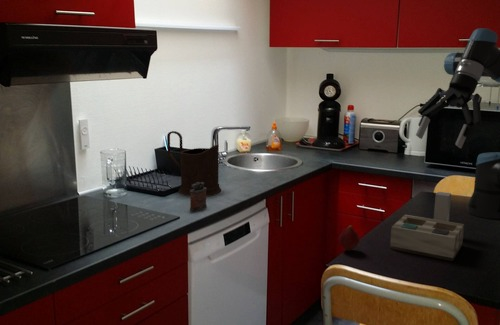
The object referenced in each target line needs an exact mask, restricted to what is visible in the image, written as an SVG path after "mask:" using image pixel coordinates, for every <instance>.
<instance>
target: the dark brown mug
mask: <svg viewBox="0 0 500 325" xmlns="http://www.w3.org/2000/svg"><path fill="white" fill-rule="evenodd" d="M171 134H175V135H177V136H178V138H179V149H180V163H179V162H178V161H177V160H176V159H175V157H174V155H173V154H172V153H171ZM166 141H167V144H166V145H167V155H168V157H169V158H170V159H171V160H172V161H173V163H174V164H175V165H176V167H178V169H179V170H180V176H181V178H180V179H181V180H180V182H181V183H180V186H179V189H178V192H177V193H178V194H180V195H183V196H187V197H190V190H192V189H194V188H192V184H196V183H197V182H199V183H201V182H203V183H204V186H203V187H206V188H207V190H206V197H212V196H216V195H219V194H221V193H222V191H223V190H222V188H221V187H220V183H219V144H215V145H213V146H211V147H209V148H208V147H201V148H200V147H196V148H191V149H187V150H184V148H183V136H182V134H181V133H180V132H178V131H175V130H172V131H170V132H168V133H167V136H166Z"/></svg>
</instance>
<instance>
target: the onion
mask: <svg viewBox="0 0 500 325" xmlns="http://www.w3.org/2000/svg"><path fill="white" fill-rule="evenodd" d="M338 237H339V238H338V241H339V244H340V245H341V247H342V248H344V249H345V250H346V251H347V252H351V251H352V250H354V249H355V248H356V247H357V246H358V245H359V243H360V237H359V234H358V233H357V231H356V230H355V229H354V228H353V226H352V225H348V226H347V227H346V228H344V229H343V230H342V231H341V233H340V234H339V236H338Z"/></svg>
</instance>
